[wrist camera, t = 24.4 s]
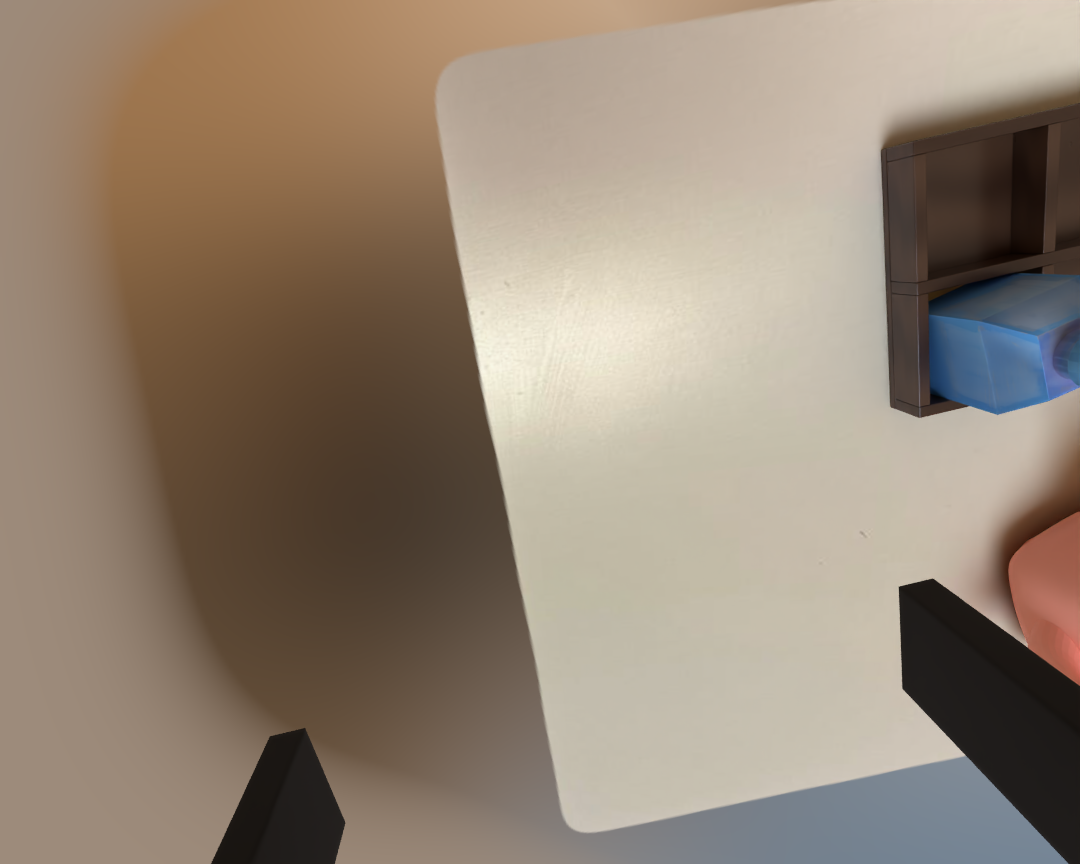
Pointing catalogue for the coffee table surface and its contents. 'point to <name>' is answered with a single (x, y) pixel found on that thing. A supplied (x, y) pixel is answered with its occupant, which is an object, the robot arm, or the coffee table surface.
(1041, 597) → the teapot
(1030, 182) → the wooden compartment tray
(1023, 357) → the perfume bottle
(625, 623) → the coffee table surface
